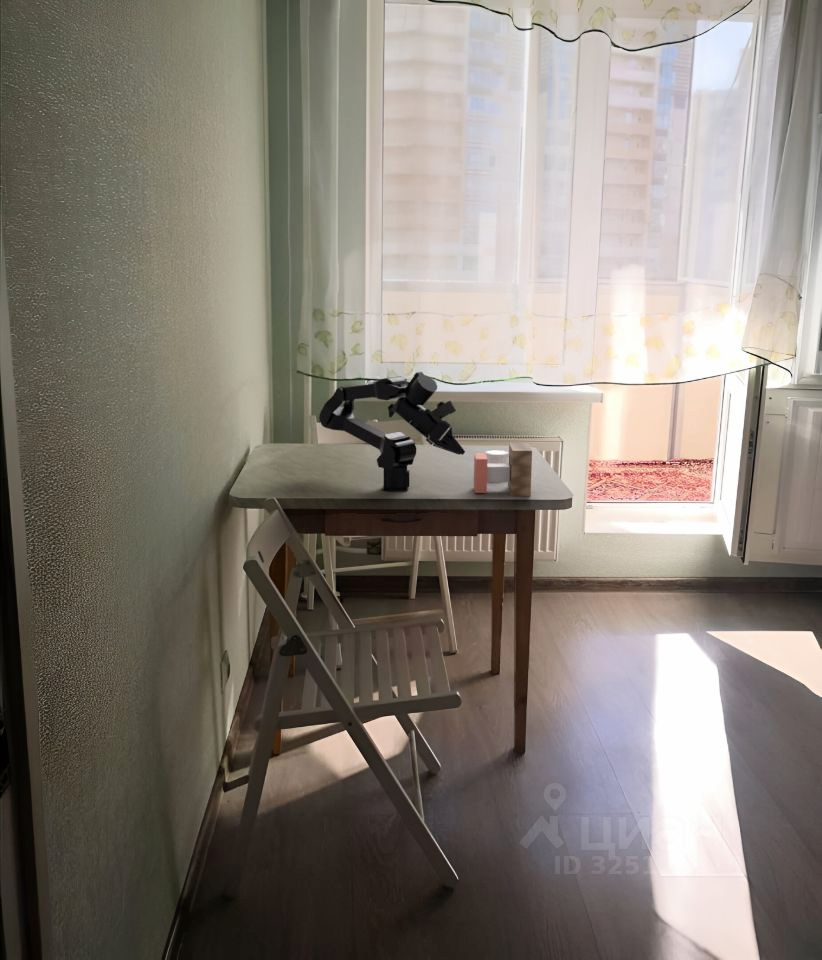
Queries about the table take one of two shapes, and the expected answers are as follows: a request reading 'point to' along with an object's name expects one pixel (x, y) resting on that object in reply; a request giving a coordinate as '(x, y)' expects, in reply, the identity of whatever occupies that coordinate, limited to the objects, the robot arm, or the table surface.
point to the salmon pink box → (488, 472)
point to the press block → (520, 469)
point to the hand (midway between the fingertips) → (462, 453)
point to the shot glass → (497, 456)
